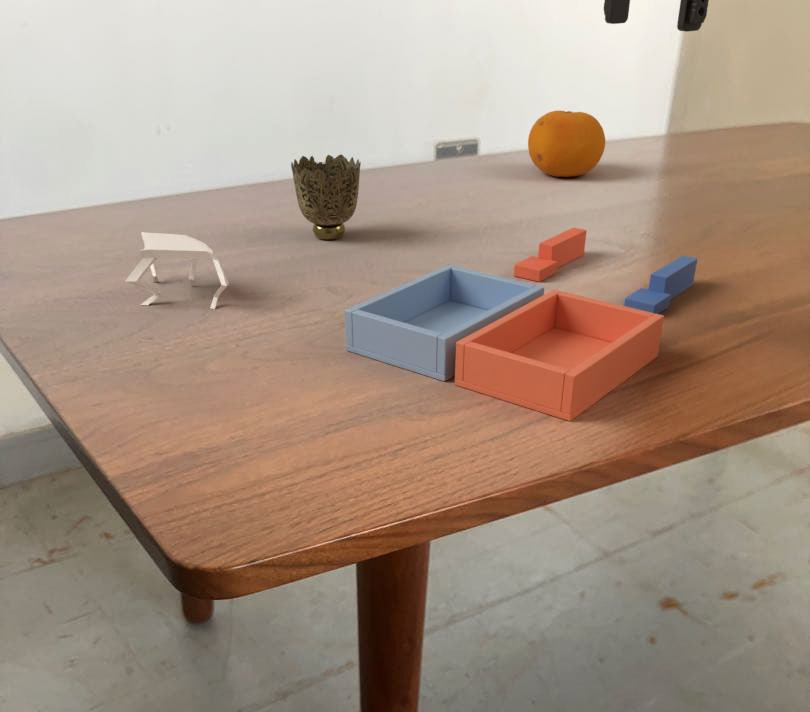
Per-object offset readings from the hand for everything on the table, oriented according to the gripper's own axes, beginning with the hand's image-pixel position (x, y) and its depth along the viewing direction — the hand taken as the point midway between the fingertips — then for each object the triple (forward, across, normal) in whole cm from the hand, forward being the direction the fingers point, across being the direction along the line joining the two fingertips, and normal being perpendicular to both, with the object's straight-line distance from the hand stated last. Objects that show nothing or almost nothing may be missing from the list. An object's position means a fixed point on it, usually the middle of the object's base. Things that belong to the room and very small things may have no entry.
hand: (650, 26), depth 80 cm
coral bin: (+22, -14, +21) cm, 33 cm away
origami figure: (+22, +18, +39) cm, 48 cm away
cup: (+22, +27, +18) cm, 39 cm away
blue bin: (+22, -4, +24) cm, 33 cm away
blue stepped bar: (+22, -7, +1) cm, 23 cm away
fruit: (+22, +35, -24) cm, 48 cm away
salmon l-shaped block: (+22, +6, +3) cm, 23 cm away
